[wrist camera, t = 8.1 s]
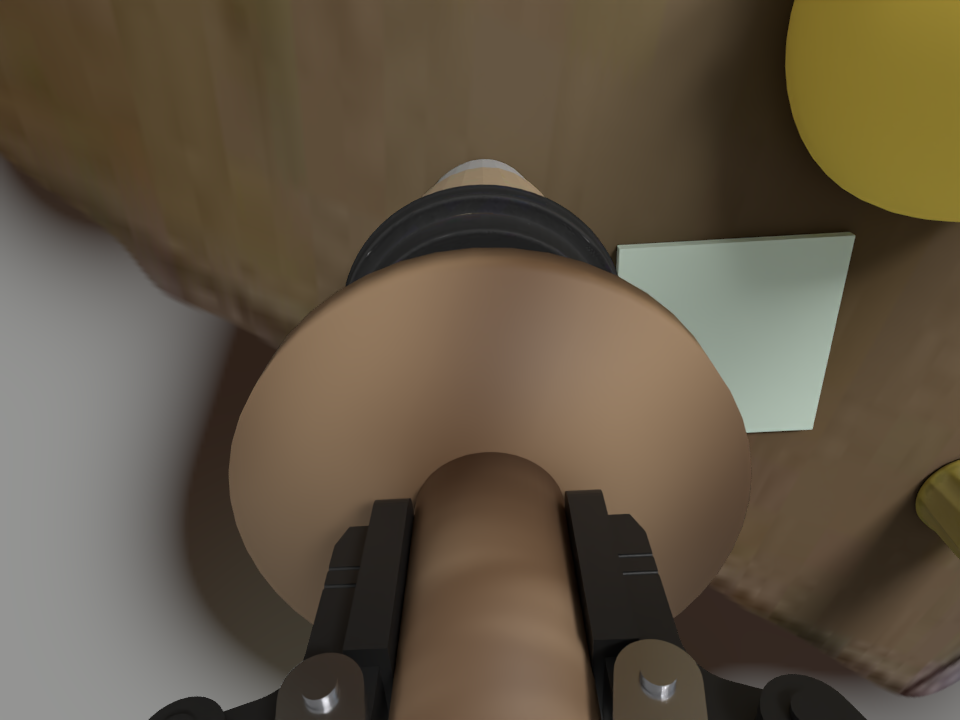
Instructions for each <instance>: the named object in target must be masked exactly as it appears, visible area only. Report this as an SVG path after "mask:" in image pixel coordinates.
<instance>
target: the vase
mask: <svg viewBox="0 0 960 720" xmlns="http://www.w3.org/2000/svg"><path fill="white" fill-rule="evenodd" d="M915 507H916V512H917V515H918V517H919V518H920V519H921V520H922V521H923V522H924V523H925V524H926V525H927V526H928V527H929V528H931V529H932V530H934V531H935V532H936V533H937V534H938V536H939V537H940V538H941V539H942V540H943V541H944V542H945V544H946V545H947V546H948V547H949V548H950V549H951V550H952V552H953V553H954V554H955V555H956V556H957V557H958V558H959V559H960V459H959V460H957V461H954V462H952V463H949V464H947V465H945V466H944V467H942V468H940V469H939V470H938V471H936V472H935V473H934V474H932V475H931V476H930V477H929V478H928V479H927V480H926V481H925V482H924V484H923V485H922V487H921V488H920V490H919V492H918V494H917V498H916V503H915Z"/></svg>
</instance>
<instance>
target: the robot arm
mask: <svg viewBox="0 0 960 720" xmlns="http://www.w3.org/2000/svg"><path fill="white" fill-rule="evenodd" d="M565 513H566V519H567V525H568V531H569V537H570V543H571V549H572V555H573V560H574V566H575V572H576V578H577V584H578V590H579V596H580V602H581V608H582V614H583V619H584V625H585V631H586V637H587V643H588V649H589V655H590V661H591V667H592V672H593V675H594V679H595V683H596V689H597V695H598V701H599V707H600V713H601V718H602V720H867V719H866V718H864V716H862V714H861V713H860V712H859V711H858V710H857V709H856V708H855V707H854V706H853V705H851V704H850V703H849V702H848V701H847V700H846V699H845V698H844V697H843V696H842V695H841V694H840V693H839V692H838V691H836V690H835V689H833V688H832V687H831V686H829V685H827V684H825V683H824V682H822V681H819V680H817V679H815V678H812V677H808V676H804V675H797V674H788V675H782V676H779V677H776V678H774V679H773V680H771V681H770V682H768V683H767V685H766V686H765V687H764V689H759V688H755V687H751V686H748V685H744V684H740V683H735V682H732V681H729V680H725V679H722V678H720V677H718V676H715V675H713V674H711V673H710V672H708V671H706V670H705V669H703V668H702V667H701V666H699V665H698V664H697V663H696V662H695V661H694V660H693V659H692V658H691V657H690V656H689V654H688V653H687V652H686V651H685V649H684V647H683V645H682V643H681V641H680V638H679V635H678V632H677V629H676V626H675V623H674V619H673V616H672V613H671V610H670V607H669V603H668V600H667V597H666V594H665V591H664V588H663V584H662V581H661V578H660V575H659V574H658V569H657V565H656V562H655V559H654V557H653V554H652V550H651V546H650V543H649V540H648V537H647V534H646V531H645V530H644V529H643V528H642V527H641V526H640V525H639V524H638V522H637V521H636V520H635V519H634V518H633V517H632V516H631V515H630V514H612V515H608V512H607V508H606V504H605V500H604V496H603V493H602V490H601V489H594V490H573V491H565ZM413 521H414V511H413V505H412V500H411V498H403V499H383V500H375V501H374V503H373V508H372V512H371V517H370V522H369V526H354V527H349V528H348V529H347V531H346V532H345V533H344V534H343V536H342V537H341V538H340V539H339V541H338V542H337V543H336V544H335V546H334V549H333V553H332V557H331V560H330V564H329V571H328V572H327V575H326V579H325V583H324V589H323V590H322V594H321V598H320V602H319V605H318V609H317V613H316V617H315V620H314V624H313V628H312V632H311V636H310V639H309V643H308V647H307V651H306V654H305V657H304V660H303V662H301V663H299V664H298V665H297V666H296V667H294V668H293V669H292V670H291V672H290V673H289V674H288V675H287V676H286V678H285V679H284V681H283V682H282V685H281V686H280V688H279V689H278V690H276V691H275V692H273V693H272V694H270V695H268V696H266V697H263V698H262V699H258V700H256V701H253V702H250V703H247V704H244V705H241V706H238V707H236V708H233V709H230V710H227V711H224V712H223V711H222V709H221V707H220V706H219V705H218V704H217V703H216V702H215V701H213V700H211V699H209V698H206V697H188V698H184V699H180V700H178V701H175V702H173V703H171V704H169V705H167V706H165V707H164V708H163V709H161V710H159V711H158V712H157V713H156V714H154V715H153V716H152V717H151V718H150V719H149V720H388V718H389V710H390V702H391V694H392V687H393V679H394V671H395V663H396V656H397V648H398V640H399V632H400V624H401V616H402V608H403V600H404V592H405V584H406V577H407V569H408V561H409V553H410V545H411V537H412V529H413Z"/></svg>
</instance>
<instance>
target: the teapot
mask: <svg viewBox="0 0 960 720" xmlns="http://www.w3.org/2000/svg"><path fill="white" fill-rule="evenodd" d="M785 70H786V83H787V92H788V97H789V101H790V106H791V110H792V115H793V118H794V121H795V123H796V126H797V129H798V131H799V134H800V137H801V139H802V141H803V142H804V144H805V146H806V148H807V149H808V151H809V153H810V155H811V156H812V158H813V159H814V160H815V161H816V163H817V164H818V165H819V166H820V168H821V169H822V170H823V171H824V172H825V174H826V175H827V176H829V177H830V178H831V179H832V180H833V181H834V182H835V183H837V184H838V185H839V186H840V187H841V188H842V189H844V190H846V191H847V192H849V193H851V194H852V195H854V196H856V197H857V198H859V199H861V200H863V201H865V202H868V203H870V204H872V205H875V206H877V207H880V208H882V209H885V210H887V211H890V212H893V213H897V214H902V215H906V216H910V217H915V218H921V219H927V220H937V221H949V222H960V0H794V4H793V7H792V11H791V15H790V21H789V28H788V34H787V40H786V59H785Z"/></svg>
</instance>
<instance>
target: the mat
mask: <svg viewBox="0 0 960 720" xmlns="http://www.w3.org/2000/svg"><path fill="white" fill-rule="evenodd" d="M854 240H855V235H854V234H852V233H851V232H838V233H821V234H804V235H786V236H769V237H752V238H735V239H717V240H700V241H683V242H666V243H648V244H631V245H617V265H616V271H617V274H618V276H619V277H620V278H622V279H624V280H626V281H627V282H629V283H631V284H632V285H634V286H636V287H638V288H639V289H641V290H643V291H644V292H646V293H648V294H649V295H650V296H651V297H653V298H654V299H655V300H657V301H658V302H659V303H660V304H662V305H663V306H664V307H665V308H667V309H668V310H669V311H670V312H672V313H673V314H674V315H675V316H676V317H677V318H678V319H679V321H680V322H681V323H682V324H683V325H684V326H685V327H686V328H687V329H688V330H689V331H690V332H691V333H692V335H693V336H694V337H695V338H696V340H697V341H698V343H699V344H700V346H701V347H702V349H703V350H704V352H705V353H706V355H707V356H708V358H709V359H710V361H711V362H712V364H713V365H714V367H715V368H716V370H717V371H718V373H719V374H720V376H721V377H722V379H723V381H724V382H725V384H726V385H727V387H728V388H729V390H730V391H731V394H732V396H733V398H734V400H735V402H736V405H737V407H738V409H739V411H740V413H741V416H742V418H743V421H744V425H745V429H746V433H750V432H770V431H790V430H810V429H812V428H813V424H814V419H815V415H816V410H817V406H818V401H819V397H820V392H821V388H822V383H823V379H824V374H825V370H826V366H827V361H828V357H829V352H830V348H831V343H832V339H833V334H834V330H835V325H836V321H837V316H838V312H839V307H840V303H841V298H842V294H843V289H844V285H845V280H846V276H847V271H848V267H849V262H850V258H851V253H852V249H853V244H854Z"/></svg>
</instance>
